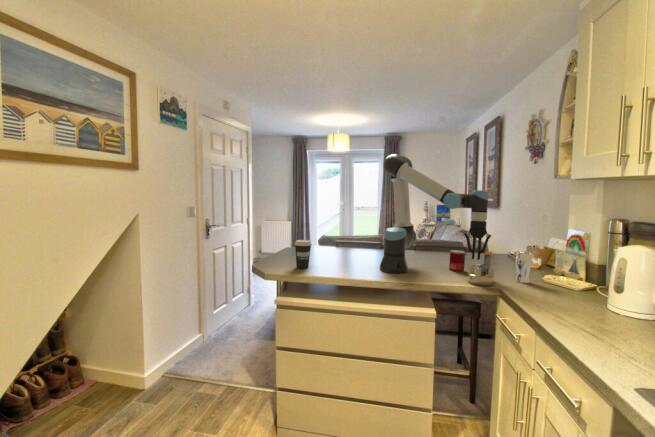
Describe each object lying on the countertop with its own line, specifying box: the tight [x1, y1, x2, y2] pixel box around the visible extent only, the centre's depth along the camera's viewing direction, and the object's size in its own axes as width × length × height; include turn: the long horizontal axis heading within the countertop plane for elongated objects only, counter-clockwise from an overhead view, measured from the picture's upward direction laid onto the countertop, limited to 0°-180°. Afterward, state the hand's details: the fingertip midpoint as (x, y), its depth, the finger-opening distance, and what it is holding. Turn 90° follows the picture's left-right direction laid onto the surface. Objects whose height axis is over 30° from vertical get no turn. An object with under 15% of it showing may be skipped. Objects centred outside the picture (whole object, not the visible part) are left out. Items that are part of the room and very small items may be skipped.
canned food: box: [448, 249, 466, 272], centre depth 185 cm, size 8×8×11 cm
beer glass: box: [515, 250, 533, 284], centre depth 164 cm, size 7×7×15 cm
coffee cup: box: [294, 239, 312, 270], centre depth 180 cm, size 10×10×15 cm
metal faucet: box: [467, 251, 495, 287], centre depth 161 cm, size 18×11×14 cm, turn 141°
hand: (475, 265), depth 169 cm, fingers closed
